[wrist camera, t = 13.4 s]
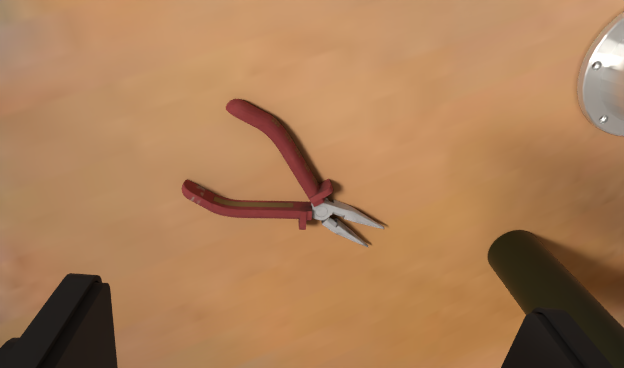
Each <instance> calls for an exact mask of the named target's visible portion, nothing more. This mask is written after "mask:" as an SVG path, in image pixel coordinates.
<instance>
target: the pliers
mask: <svg viewBox="0 0 624 368" xmlns="http://www.w3.org/2000/svg"><path fill="white" fill-rule="evenodd" d="M226 110H227V111H228V112H229V113H230V114H232V115H233V116H235V117H237V118H239V119H240V120H242V121H244V122H246V123H248V124H250V125H252V126H254V127H256V128H258V129H259V130H261V131H262V132H263V133H265V134H266V135H267V136H268V137H269V138H270V139H271V140H272V141H273V142H274V144H275V145H276V146H277V148H278V149H279V151H280V152H281V154H282V156H283V157H284V159H285V161H286V162H287V164H288V165H289V167H290V169H291V170H292V172H293V174H294V175H295V177H296V178H297V180H298V182H299V183H300V185H301V187H302V188H303V190H304V191H305V193H306V195H307V196H308V198H309V200H310V202H295V201H245V200H233V199H228V198H224V197H221V196H218V195H216V194H214V193H212V192H210V191H208V190H206V189H205V188H203V187H201V186H199V185H197V184H195V183H193V182H191V181H189V180H185V182H184V183H183V185H182V193H183V195H184V196H185V197H186V198H187V199H189V200H191V201H193V202H195V203H196V204H198V205H200V206H202V207H204V208H206V209H208V210H209V211H211V212H213V213H216V214H219V215H223V216H228V217H237V218H285V219H299V230H306V220H312V218H314V219H317V220H321V222H322V225H324V226H325V227H326V228H328V229H329V230H331V231H332V232H334V233H336V234H338V235H340V236H343V237H345V238H347V239H350V240H352V241H354V242H357V243H359V244H361V245H364V246H366V247H368V245H367V244H366V243H365V242H364V241H363V240H362V239H361V238H360V237H358V236H357V235H356V234H355V233H354V232H353V231H352V230H351V229H349V228H348V227H347V226H346V225H345V224H344V223H342V222H341V221H340V220H339V219H338V218H335V219H331V218H330V215H332V214H335V215H338V216H341V217H343V219H346V220H349V221H353V222H356V223H360V224H365V225H369V226H373V227H377V228H381V229H384V227H383V226H382V225H380V224H379V223H377V222H375V221H374V220H372V219H371V218H369V217H367V216H366V215H364V214H363V213H361V212H359V211H358V210H356V209H355V208H353V207H351V206H349V205H347V204H345V203H342V202H339V201H336V200H333V201H332V202H329V200H328V199H327V198H326V196H328V195H330V194H331V193H332V192H333V187H332V184H331V182H330V180H329V179H327V180H325V181H323V182H321V183H319V184H318V182H317V181H316V179H315V177H314V176H313V174H312V172H311V170H310V169H309V167H308V165H307V164H306V162H305V160H304V159H303V157H302V155H301V154H300V152H299V150H298V149H297V147H296V145H295V143H294V142H293V140H292V138H291V137H290V135H289V134H288V132H287V131H286V130H285V129H284V127H283V126H282V125H281V124H280V123H279V122H278V120H276V119H275V118H274V117H273V116H272V115H270V114H268V113H266V112H264V111H262V110H260V109H258V108H257V107H255V106H253V105H251V104H249V103H247V102H245V101H243V100H241V99H233V100H231V101H230V102H229V103H228V104H227V106H226Z"/></svg>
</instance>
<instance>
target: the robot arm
mask: <svg viewBox="0 0 624 368" xmlns="http://www.w3.org/2000/svg"><path fill="white" fill-rule="evenodd" d="M577 95H578V101H579V105H580V108H581V110H582V112H583V114H584V116H585V117H586V118H587V120H588V121H589V122H590V123H592V124H593V125H594V126H595V127H597V128H599V129H601V130H603V131H605V132H607V133H610V134H613V135H616V136H624V12H622V13H621V14H619V15H618V16H616V17H615V18H614V19H613V20H612V21H611V22H610V23H609V24H608V25H607V26H606V27H605V28H604V29H603V30H602V31H601V33H600V34H599V35H598V36H597V37H596V39H595V40H594V42H593V43H592V45H591V47H590V48H589V50H588V52H587V53H586V56H585V58H584V60H583V63H582V65H581V68H580V72H579V77H578V85H577ZM0 368H117V357H116V347H115V336H114V325H113V315H112V304H111V293H110V286H109V284H108V283H102V280H101V278H100V276H98V275H86V274H72V273H70V274H68V275H67V276H66V277H65V278H64V279H63V280H62V282H61V283H60V284H59V286H58V287H57V288H56V290H55V291H54V292H53V294H52V295H51V296H50V298H49V299H48V300H47V302H46V303H45V305H44V306H43V307H42V309H41V310H40V311H39V313H38V314H37V315H36V317H35V318H34V319H33V321H32V322H31V323H30V325H29V326H28V328H27V329H26V330H25V332H24V333H23V334H22V336H21V337H20V338H12V339H10V340H8V341H7V342H6V343H5V344H4V345H3V346H2V347H1V348H0ZM501 368H614V367H613V366H612V365H611V364H610V362H609V361H608V360H607V359H606V358H605V356H604V355H603V354H602V353H601V352H600V350H599V349H598V348H597V347H596V346H595V344H594V343H593V342H592V341H591V340H590V338H589V337H588V336H587V335H586V334H585V333H584V331H583V330H582V329H581V328H580V327H579V325H578V324H577V323H576V322H575V321H574V319H573V318H572V317H571V316H570V315H569V314H568V313H567V312H566V311H565V310H563V309H556V308H542V307H538V308H535V309H533V311H532V312H531V313H529V314H527V315H526V317H525V318H524V320H523V323H522V325H521V327H520V329H519V331H518V333H517V335H516V337H515V339H514V341H513V344H512V346H511V348H510V350H509V352H508V354H507V356H506V358H505V360H504V362H503V365H502V367H501Z"/></svg>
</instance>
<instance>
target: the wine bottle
mask: <svg viewBox="0 0 624 368" xmlns="http://www.w3.org/2000/svg"><path fill="white" fill-rule="evenodd" d="M488 261H489V264H490V265H491V267H492V268H493V270H494V271H495V272H496V274H497V275H498V277H499V278H500V279H501V281H502V282H503V283H504V285H505V286H506V288H507V289H508V290H509V292H510V293H511V295H512V296H513V297H514V299H515V300H516V302H517V303H518V304H519V306H520V307H521V309H522V310H523V311H524V313H525V314H526V315H527V314H529V313H531V312H532V311H533V309H535V308H538V307H542V308H556V309H563V310H565V311H566V312H567V313H568V314H569V315H570V316H571V317H572V318H573V319H574V321H575V322H576V323H577V324H578V325H579V327H580V328H581V329H582V330H583V331H584V333H585V334H586V335H587V336H588V337H589V338H590V340H591V341H592V342H593V343H594V344H595V346H596V347H597V348H598V349H599V350H600V352H601V353H602V354H603V355H604V356H605V358H606V359H607V360H608V361H609V362H610V364H611V365H612V366H613V367H614V368H624V328H623V327H622V326H621V325H620V324H619V323H618V322H617V321H616V320H615V319H614V318H613V317H612V316H611V314H610V313H609V312H608V311H607V310H606V309H605V308H604V307H603V306H602V305H601V304H600V303H599V302H598V301H597V300H596V299H595V298H594V297H593V296H592V295H591V294H590V293H589V292H588V291H587V290H586V289H585V288H584V287H583V286H582V285H581V284H580V283H579V282H578V280H577V279H576V278H575V277H574V276H573V275H572V274H571V273H570V272H569V271H568V270H567V269H566V268H565V267H564V266H563V265H562V264H561V263H560V262H559V261H558V260H557V259H556V258H555V257H554V256H553V255H552V254H551V253H550V252H549V251H548V250H547V249H546V247H545V246H544V245H543V244H542V243H541V242H540V241H539V240H538V239H537V238H536V237H535V236H534V235H533V234H531V233H529V232H527V231H521V230H518V231H511V232H508V233H506V234H504V235H502V236H500V237H499V238H498V239H496V240H495V241H494V243H493V244H492V245H491V247H490V249H489V252H488Z"/></svg>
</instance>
